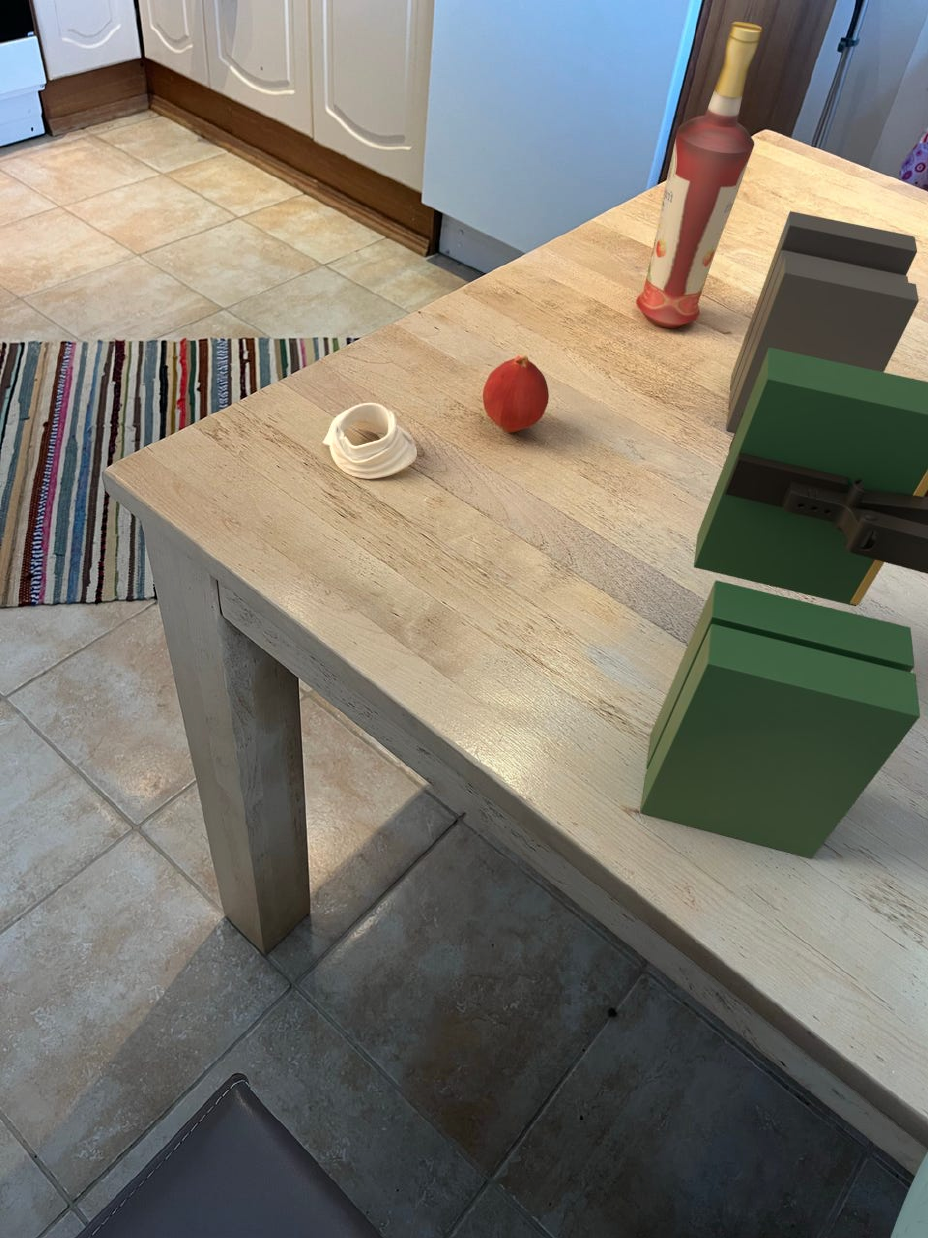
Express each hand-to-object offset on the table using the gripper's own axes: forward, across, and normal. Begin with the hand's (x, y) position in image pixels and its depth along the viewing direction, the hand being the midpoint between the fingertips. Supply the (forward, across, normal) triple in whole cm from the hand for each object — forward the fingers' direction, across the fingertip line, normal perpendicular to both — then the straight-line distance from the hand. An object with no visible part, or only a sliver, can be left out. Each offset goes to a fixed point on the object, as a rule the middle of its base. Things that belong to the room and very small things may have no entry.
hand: (734, 453), depth 59 cm
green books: (-5, -13, -17) cm, 22 cm away
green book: (-5, 0, -8) cm, 10 cm away
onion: (+16, +20, -17) cm, 31 cm away
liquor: (+5, +46, -17) cm, 50 cm away
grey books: (-9, +33, -17) cm, 38 cm away
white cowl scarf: (+27, +12, -17) cm, 34 cm away
